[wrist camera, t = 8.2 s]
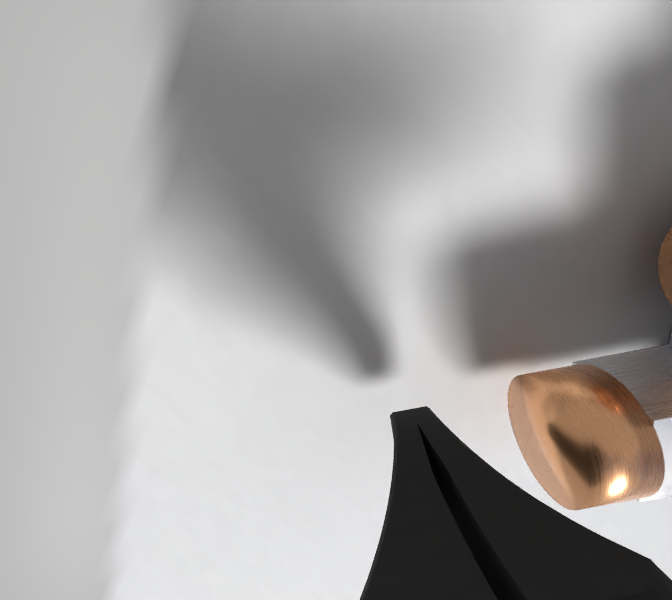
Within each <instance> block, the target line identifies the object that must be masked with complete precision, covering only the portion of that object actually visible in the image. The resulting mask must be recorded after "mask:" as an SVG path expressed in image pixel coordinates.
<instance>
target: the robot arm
mask: <svg viewBox="0 0 672 600" xmlns="http://www.w3.org/2000/svg"><path fill="white" fill-rule="evenodd" d="M390 418H391V424H392V431H393V438H394V461H393V471H392V481H391V488H390V495H389V501H388V506H387V511H386V516H385V520H384V524H383V529H382V533H381V537H380V540H379V544H378V547H377V551H376V554H375V557H374V560H373V564H372V567H371V570H370V573H369V576H368V579H367V582H366V584H365V587H364V590H363V592H362V595H361V598H360V600H672V580H671V579H670V578H669V577H668V576H667V575H666V574H665V573H664V572H663V571H661V570H660V569H659V568H658V567H657V566H656V565H655V564H654V563H653V561H652V560H650V559H649V558H646V557H644V556H642V555H640V554H638V553H636V552H634V551H632V550H630V549H628V548H626V547H623V546H621V545H619V544H617V543H615V542H613V541H611V540H609V539H607V538H605V537H602V536H601V535H599V534H597V533H595V532H593V531H591V530H589V529H587V528H585V527H584V526H582V525H580V524H578V523H576V522H574V521H572V520H571V519H569V518H567V517H566V516H564V515H562V514H561V513H559V512H557V511H556V510H554V509H552V508H551V507H549V506H547V505H546V504H544V503H542V502H541V501H539V500H537V499H536V498H534V497H533V496H531V495H530V494H528V493H527V492H525V491H524V490H522V489H521V488H519V487H518V486H517V485H515V484H514V483H512V482H511V481H510V480H508V479H507V478H505V477H504V476H503V475H502V474H500V473H499V472H498V471H496V470H495V469H494V468H492V467H491V466H490V465H489V464H488V463H486V462H485V461H484V460H483V459H481V458H480V457H479V456H478V455H477V454H476V453H474V452H473V451H472V450H471V449H470V448H469V447H468V446H466V445H465V444H464V443H463V442H462V441H461V440H460V439H459V438H458V437H457V436H456V435H455V434H454V433H453V432H451V431H450V430H449V429H448V428H447V427H446V426H445V425H444V424H443V422H442V421H441V420H440V419H439V418H438V417H437V416H436V415H435V414H434V413H433V412H432V411H431V409H430V408H428V407H427V406H425V407H420V408H415V409H409V410H404V411H398V412H393V413H392V414H391V415H390Z"/></svg>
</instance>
